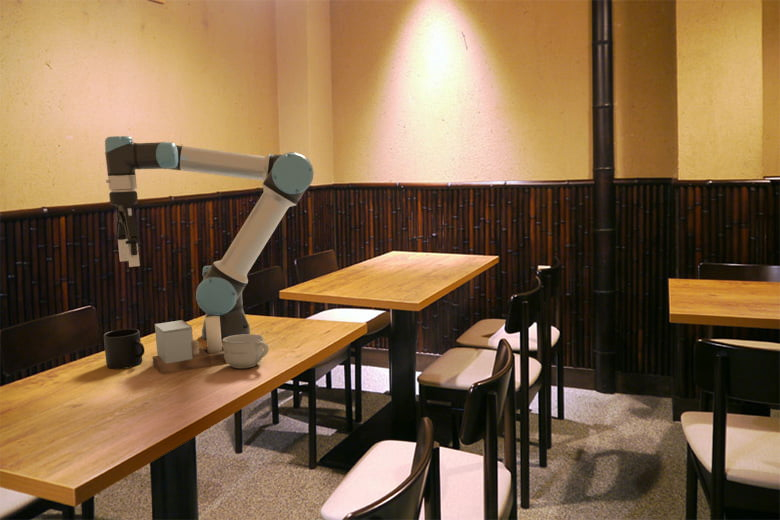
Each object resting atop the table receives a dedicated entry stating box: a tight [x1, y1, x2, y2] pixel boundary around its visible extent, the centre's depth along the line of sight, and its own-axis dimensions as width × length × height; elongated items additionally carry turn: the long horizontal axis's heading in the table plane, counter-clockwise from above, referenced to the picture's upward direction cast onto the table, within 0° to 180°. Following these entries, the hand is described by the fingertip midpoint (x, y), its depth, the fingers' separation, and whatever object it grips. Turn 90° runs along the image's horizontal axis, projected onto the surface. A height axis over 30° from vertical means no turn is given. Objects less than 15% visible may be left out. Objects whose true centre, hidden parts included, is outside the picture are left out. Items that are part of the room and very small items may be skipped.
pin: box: [204, 316, 223, 354], centre depth 190 cm, size 4×4×12 cm
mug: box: [103, 328, 145, 370], centre depth 188 cm, size 9×12×9 cm
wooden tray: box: [152, 339, 227, 375], centre depth 187 cm, size 20×10×6 cm, turn 121°
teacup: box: [222, 333, 269, 369], centre depth 182 cm, size 14×11×8 cm
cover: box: [154, 319, 194, 364], centre depth 184 cm, size 8×10×9 cm
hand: (129, 263), depth 197 cm, fingers open, 13 cm apart
